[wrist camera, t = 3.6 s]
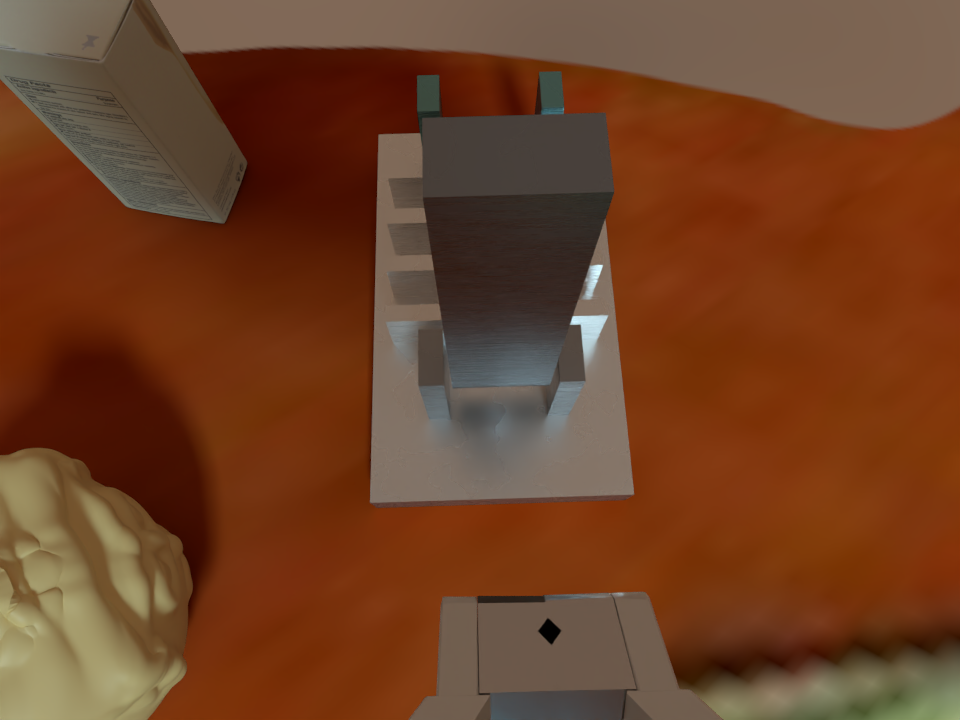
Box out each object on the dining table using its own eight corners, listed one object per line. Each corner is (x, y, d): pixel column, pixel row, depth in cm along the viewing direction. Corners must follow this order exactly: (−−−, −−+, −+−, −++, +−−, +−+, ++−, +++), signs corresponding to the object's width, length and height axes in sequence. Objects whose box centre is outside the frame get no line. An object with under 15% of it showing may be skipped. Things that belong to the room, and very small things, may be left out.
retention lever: (547, 391, 28) (614, 191, 14) (453, 394, 28) (422, 197, 14) (544, 346, 29) (605, 112, 14) (452, 349, 29) (422, 118, 14)
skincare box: (251, 163, 38) (150, -21, 27) (226, 227, 37) (109, 64, 25) (146, 144, 39) (2, -44, 27) (118, 207, 37) (-46, 37, 26)
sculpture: (273, 651, 30) (164, 685, 20) (23, 829, 28) (-246, 972, 18) (161, 446, 33) (16, 384, 23) (-73, 592, 31) (-349, 596, 21)
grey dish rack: (625, 499, 32) (669, 473, 24) (376, 507, 32) (343, 483, 24) (590, 150, 38) (616, 44, 31) (383, 156, 38) (359, 51, 31)
